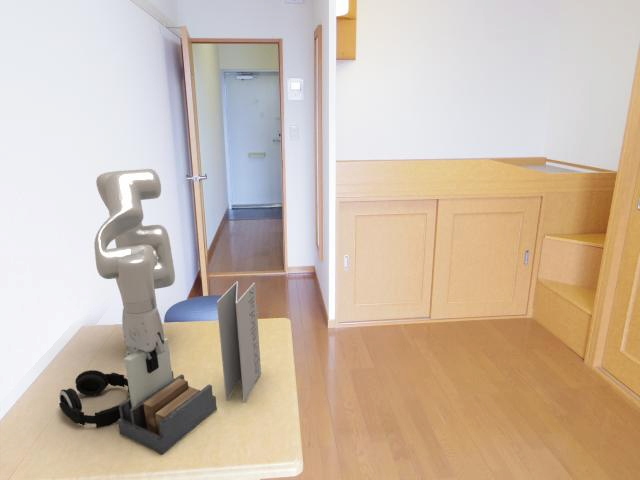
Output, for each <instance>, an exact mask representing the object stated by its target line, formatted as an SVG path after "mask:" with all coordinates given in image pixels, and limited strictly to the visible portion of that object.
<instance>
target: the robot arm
mask: <svg viewBox="0 0 640 480" xmlns="http://www.w3.org/2000/svg"><path fill="white" fill-rule="evenodd" d="M95 184H96V187H97V191H98V194H99V196H100V198H101V200H102V202H103V204H104V205H105V207H106V209H107V210H108V213H109V217H108V218H107V219H106V220H105V221H104V222H103V224H102V225H101V226H100V227H99V229H98V231H97V233H96V235H95V238H94V255H95V256H94V257H95V265H96V269H97V272H98V275H99V276H100V277H101V278H103V279H104V280H105V279H106V280H112V279H113V280H114V279H115V280H116V281H115V282H116V285H117V287H118V290H119V294H120V296H121V297H120V298H121V302H122V306H123V308H122V318H121V321H122V333H123V339H124V340H123V342H124V343H125V344H126V345H127V347H128V348H127V350H126V351H125V358H126V357H128V356H129V355H131V354H133V353H135V352H137V351H138V350H143V351H146V354H147V359H146V365H147V372H148V373H151V372H153V371H155V370H156V369H158V368H159V365H158V358H157V355H159V354H161V353H163V352H165V349H164V346H163V344H164V338H165V333H164V328H163V322H162V318H161V316H160V312H159V309H158V308H157V307H158V305H157V299H156V298H157V296H156V291H155V290H158V289H162V288H167V287H168V288H169V287H171V286H173V285H174V283H175V281H176V274H175V265H174V261H173V260H174V259H173V254H172V248H171V247H172V246H171V241H170V237H169V234H168V231H167V229H166V227H165V226H163V225H161V224H151V225H143V223H142V222H143V220H144V211H143V205H142V201H143V200H144V201H145V200H155V199H158V198H160V196H161V193H162V183H161V180H160V176H159V175H158V173H157V172H156V170H154V169H152V168H145V169H144V168H143V169H142V168H141V169H131V170H129V169H127V170H114V171H108V172H104V173H101V174H99V175H98V176H97V177H96V183H95ZM113 241H114V242H115V247H113V248H108V246H109V245H110V243H112V242H113ZM107 248H108V249H107ZM152 350H153V351H152ZM151 351H152V352H151Z"/></svg>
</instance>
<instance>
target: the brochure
mask: <svg viewBox="0 0 640 480" xmlns="http://www.w3.org/2000/svg"><path fill="white" fill-rule="evenodd" d="M256 289H257V288H256V282H253V283H252V284H251V285H250V286H249V287H248V288H247V290H246V291H245V292H244V293H243V294H242V295H241V296H240V292H239V281H238V280H236V282H235V283H234V284H233V285H232V286H231V287H230V288H229V289H227V291H226V292H225V293H224V294H223V295H222V296H221V297H220V298H219V299H218V300H217V301H216V308H217V309H216V310H217V319H218V328H219V329H218V330H219V331H218V332H219V343H220V352H221V353H220V354H221V360H222V361H221V363H222V373H223V382H224V383H223V384H224V393H225V402H227V401H228V400H229V398H230V397H231V395H232V394H233V393H234V390H235V389H236V387H237V385H238V384H239V383H240V381H241V385H242V386H241V387H242V397H243V398H242V399H243V404H245V403H246V402H247V400H248V398H249V396H250V394H251V393H252V391H253V389H254V388H255V386H256V384H257V382H258V381H259V378H260V377H261V375H262V368H261V367H262V366H261V353H260V352H261V350H260V336H259V335H260V334H259V318H258V306H257V291H256Z"/></svg>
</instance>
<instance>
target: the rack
mask: <svg viewBox="0 0 640 480" xmlns="http://www.w3.org/2000/svg"><path fill="white" fill-rule="evenodd" d="M172 377H173V380H172V381H171V382H169V383H168V384H166V385H165V386H163V387H162V388H161V389H159V390H158V391H156V392H155V393H153V394H152V395H150V396H149V397H147V398H146V399H145V400H143V401H142V402H140V403H139V404H137V405H136V406H134V407H133V408H132V405H131V399H130V397H129V398H128V397H127V398H128V399H127V398H126V399H125V400H123V401H122V402H120V403H118V404H117V405H119V411H120V416H121V418H120V419H119V420H117V421H118V422H117V426H118V432H119V435H122V436H124V437H126V438H127V439H130V440H132V441H134V442H135V443H138V444H140V445H141V446H144V447H146V448H148V449H150V450H153V451H154V452H156V453H159V454H161V455H164V454H165V453H166V452H168V451H169V450H170V449H171V448H173V446H175V445H176V444H177V443H179V442H180V440H182V439H183V438H184V437H186V436H187V435H188V434H189V433H190V432H191V431H192V430H194V429H195V428H196V427H197V426H198V425H200V424H201V423H202V422H203V421H204V420H206V419H207V418H208V417H209V416H210V415H212V414H213V413H214V412H215V411H216V410H217V409H218V408H217V407H218V406H217V397H216V395H214V394H213V385H212V384H207V385H206V386H205V387H204V388H202V389H201V390H200V391H199V392H198V393H197V394H195V395H194V396H193V397H192V398H190V399H189V400H188V401H186V402H185V403H184V404H182V405H181V406H180V407H178V408H177V409H176V410H174V411H173V412H172V413H171V414H169V415H168V416H167V417H165V418H164V419H163V420H161V421H160V422H159V428H160V434H161V436H158V435H156V434H154V433H152V432H150V431H148V430H147V424H146V417H145V411H144V404H143V403H144V402H146V401H147V400H149V399H150V398H152V397H153V396H154V395H156V394H157V393H159V392H160V391H162V390H163V389H165V388H166V387H167V386H169V385H170V384H172V383H173V382H175V381H176V380H178V379H179V378H180V379H183V380H185V375H184V374H180V375H178V376H177V377H174V371H173V370H172ZM191 387H192V386H189V385H188V388H191ZM193 388H194V389H196V388H195V387H193ZM206 417H207V418H206ZM205 418H206V419H205Z"/></svg>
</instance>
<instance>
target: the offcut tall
mask: <svg viewBox="0 0 640 480" xmlns="http://www.w3.org/2000/svg"><path fill="white" fill-rule="evenodd" d="M188 386H189V383H188V380H185V379H184V380H183V379H180V378H179V379H178V380H176V381H175V382H173V383H172V384H170V385H169V386H167V387H166V388H165V389H163V390H162V391H160V392H159V393H157V394H156V395H154V396H153V397H152V398H150V399H149V400H147V401H146V402H144V403H143V404H144V411H145V417H146V424H147V430H148V431H150V432H152V433H154V434H156V435H158V436H159V434H158V427H157V420H156V413H157V412H158V411H159V410H161V409H162V408H164V407H165V406H166V405H168V404H169V403H170V402H172V401H173V400H174V399H176V398H177V397H178V396H180V395H181V394H183V393H184V392H185V391H187V390H188V389H189V388H188Z"/></svg>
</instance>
